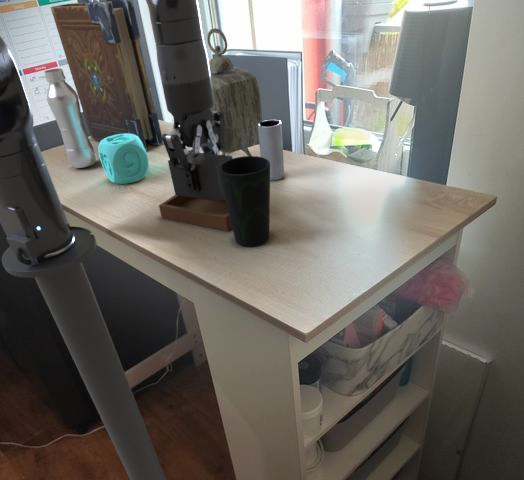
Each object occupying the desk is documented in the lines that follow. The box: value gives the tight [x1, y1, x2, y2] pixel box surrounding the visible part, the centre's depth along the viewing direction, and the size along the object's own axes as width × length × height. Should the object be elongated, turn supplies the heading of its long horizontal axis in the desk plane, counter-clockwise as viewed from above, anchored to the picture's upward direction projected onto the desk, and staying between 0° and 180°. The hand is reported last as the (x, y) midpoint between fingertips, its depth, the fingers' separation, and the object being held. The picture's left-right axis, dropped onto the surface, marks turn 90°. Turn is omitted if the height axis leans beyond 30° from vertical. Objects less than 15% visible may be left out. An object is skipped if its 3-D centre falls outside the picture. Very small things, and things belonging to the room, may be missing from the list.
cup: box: [219, 155, 271, 248], centre depth 74 cm, size 8×8×12 cm
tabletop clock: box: [207, 27, 263, 156], centre depth 97 cm, size 14×9×25 cm, turn 34°
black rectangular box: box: [167, 152, 234, 202], centre depth 82 cm, size 10×5×6 cm, turn 59°
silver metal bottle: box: [43, 68, 97, 169], centre depth 106 cm, size 6×7×20 cm
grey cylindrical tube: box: [258, 119, 285, 181], centre depth 94 cm, size 4×4×10 cm
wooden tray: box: [158, 194, 233, 232], centre depth 86 cm, size 10×15×2 cm, turn 60°
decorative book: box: [50, 0, 164, 152], centre depth 114 cm, size 23×7×30 cm, turn 50°
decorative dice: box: [97, 133, 150, 185], centre depth 101 cm, size 8×8×8 cm
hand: (204, 184), depth 83 cm, fingers closed on black rectangular box, 5 cm apart
